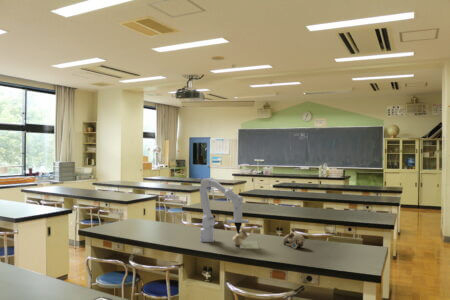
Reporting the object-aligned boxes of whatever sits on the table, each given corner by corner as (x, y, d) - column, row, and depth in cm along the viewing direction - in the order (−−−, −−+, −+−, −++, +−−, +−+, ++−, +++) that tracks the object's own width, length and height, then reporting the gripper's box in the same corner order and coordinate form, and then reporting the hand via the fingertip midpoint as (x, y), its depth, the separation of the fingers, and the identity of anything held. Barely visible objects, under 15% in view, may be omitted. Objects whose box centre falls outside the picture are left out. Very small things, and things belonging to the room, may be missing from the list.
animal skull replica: (287, 243, 241) (287, 229, 241) (307, 248, 228) (307, 233, 228) (279, 245, 235) (280, 230, 236) (299, 251, 222) (300, 235, 223)
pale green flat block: (239, 248, 225) (240, 246, 225) (238, 240, 245) (238, 238, 245) (259, 248, 225) (259, 246, 225) (256, 241, 245) (256, 239, 245)
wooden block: (232, 240, 231) (242, 230, 231) (232, 237, 239) (242, 228, 239) (237, 245, 231) (247, 236, 231) (237, 242, 239) (247, 233, 239)
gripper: (227, 214, 232) (227, 235, 231) (248, 214, 232) (249, 235, 231) (227, 213, 239) (227, 233, 239) (248, 212, 239) (248, 232, 238)
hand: (238, 233), depth 235 cm, fingers closed, pressing on wooden block
